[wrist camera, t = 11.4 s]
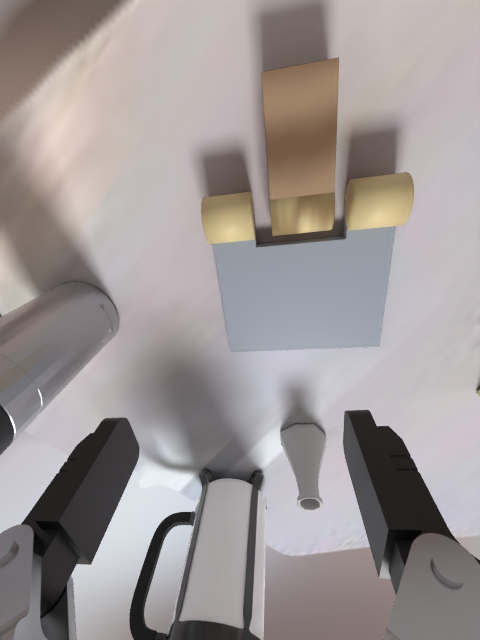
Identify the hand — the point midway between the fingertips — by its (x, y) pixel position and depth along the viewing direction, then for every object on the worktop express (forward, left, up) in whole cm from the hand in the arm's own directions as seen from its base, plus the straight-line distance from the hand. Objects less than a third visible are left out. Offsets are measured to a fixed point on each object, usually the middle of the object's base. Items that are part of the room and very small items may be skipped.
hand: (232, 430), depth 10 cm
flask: (+4, -30, -24) cm, 38 cm away
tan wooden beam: (+4, +9, -24) cm, 26 cm away
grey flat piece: (+4, -2, -24) cm, 24 cm away
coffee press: (-10, -44, -24) cm, 51 cm away
